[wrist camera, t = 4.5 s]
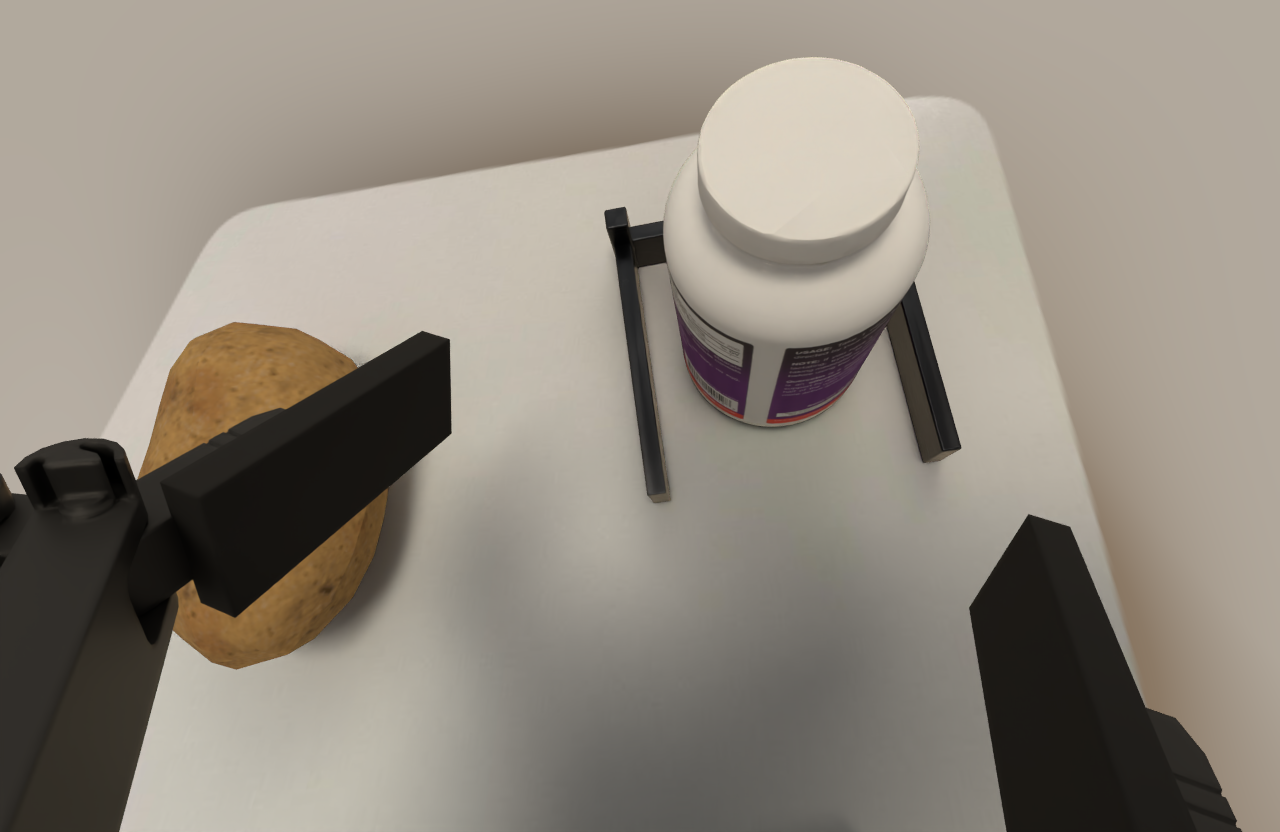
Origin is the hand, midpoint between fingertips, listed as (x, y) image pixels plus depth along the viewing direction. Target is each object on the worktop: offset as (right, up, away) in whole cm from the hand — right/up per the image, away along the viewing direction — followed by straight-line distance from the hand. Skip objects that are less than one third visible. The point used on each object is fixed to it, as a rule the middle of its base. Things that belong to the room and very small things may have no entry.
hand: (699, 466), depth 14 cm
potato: (-16, -3, +16) cm, 23 cm away
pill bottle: (+5, +4, +16) cm, 17 cm away
